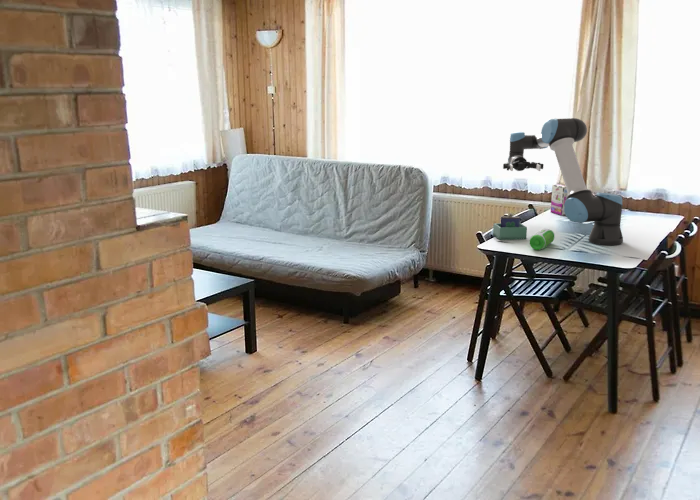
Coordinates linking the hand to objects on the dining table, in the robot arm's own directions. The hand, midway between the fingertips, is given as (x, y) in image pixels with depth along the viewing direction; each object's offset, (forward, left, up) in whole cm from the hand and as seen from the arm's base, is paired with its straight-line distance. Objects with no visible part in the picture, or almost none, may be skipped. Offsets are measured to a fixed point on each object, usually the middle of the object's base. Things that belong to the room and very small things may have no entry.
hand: (525, 168), depth 330 cm
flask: (-14, +11, -31) cm, 36 cm away
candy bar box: (+39, -36, -32) cm, 62 cm away
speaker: (-34, +3, -32) cm, 47 cm away
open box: (-14, +11, -32) cm, 37 cm away
